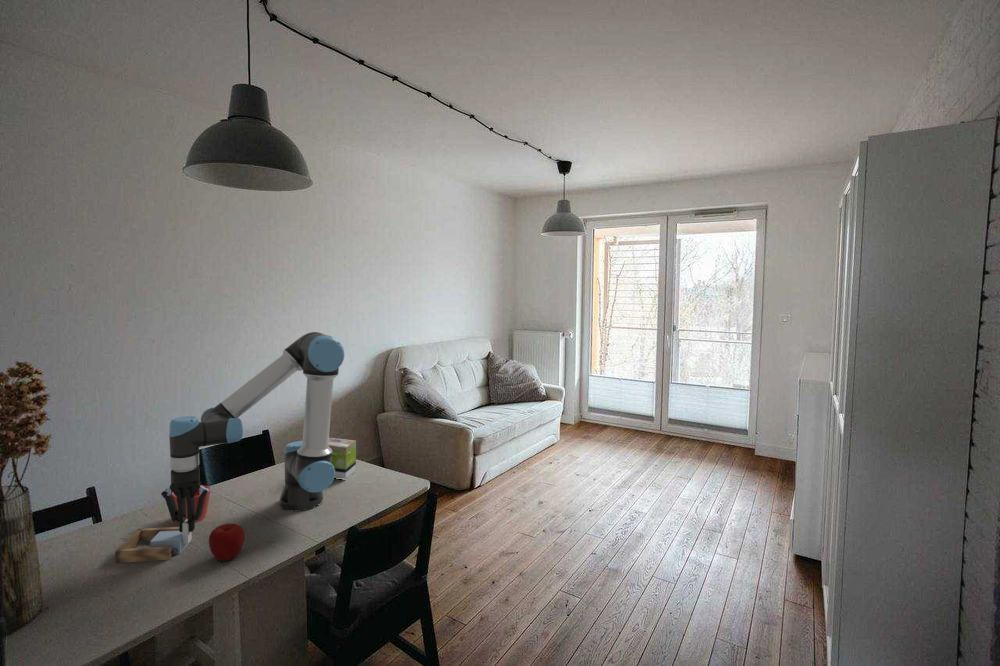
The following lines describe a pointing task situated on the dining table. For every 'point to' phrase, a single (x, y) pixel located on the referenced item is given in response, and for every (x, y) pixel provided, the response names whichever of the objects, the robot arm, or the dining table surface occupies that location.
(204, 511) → the flower pot
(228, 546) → the apple
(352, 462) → the tea box
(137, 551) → the bay
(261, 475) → the dining table surface
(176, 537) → the block
